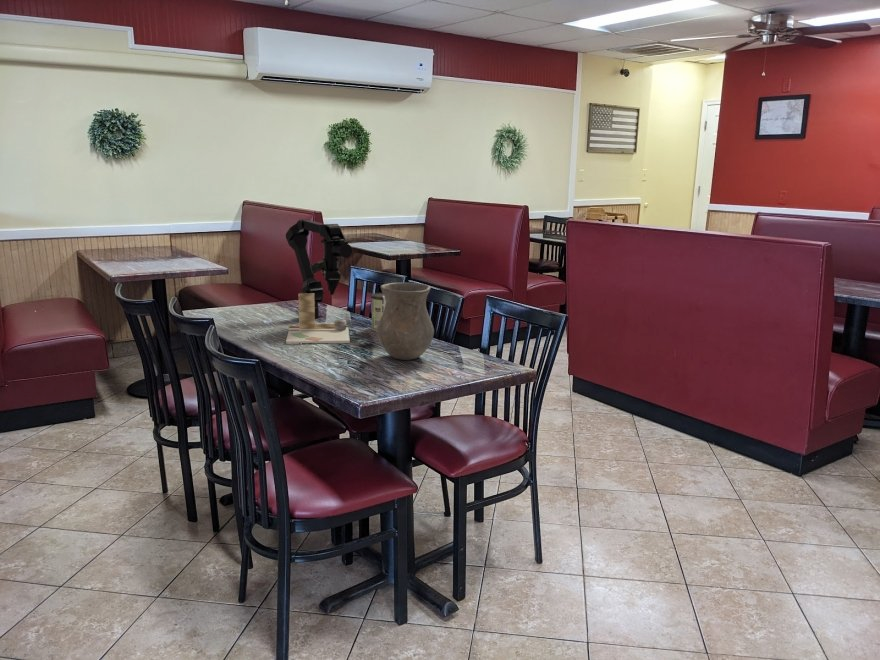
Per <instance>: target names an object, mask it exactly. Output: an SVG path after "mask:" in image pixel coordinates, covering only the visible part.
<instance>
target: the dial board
mask: <svg viewBox="0 0 880 660" xmlns="http://www.w3.org/2000/svg"><path fill="white" fill-rule="evenodd" d="M349 330H350V329H349V327H347V326H346V329H344V330H338V329H299V328H289V327H288V333H287V337H286V340H285V342H286V343H285V344H286V345H303V344H302V343H328V344H350V343H351V342H350V340H351V339H350V331H349ZM299 343H300V344H299Z"/></svg>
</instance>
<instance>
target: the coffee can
mask: <svg viewBox="0 0 880 660" xmlns="http://www.w3.org/2000/svg"><path fill="white" fill-rule="evenodd" d="M383 295H384V294H383V292H377V293H372V294H371V295H370V296H371V331H373V330H375V331H374V332H377V327H378V325H379V322H380V320H381V317H382V297H383Z"/></svg>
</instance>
